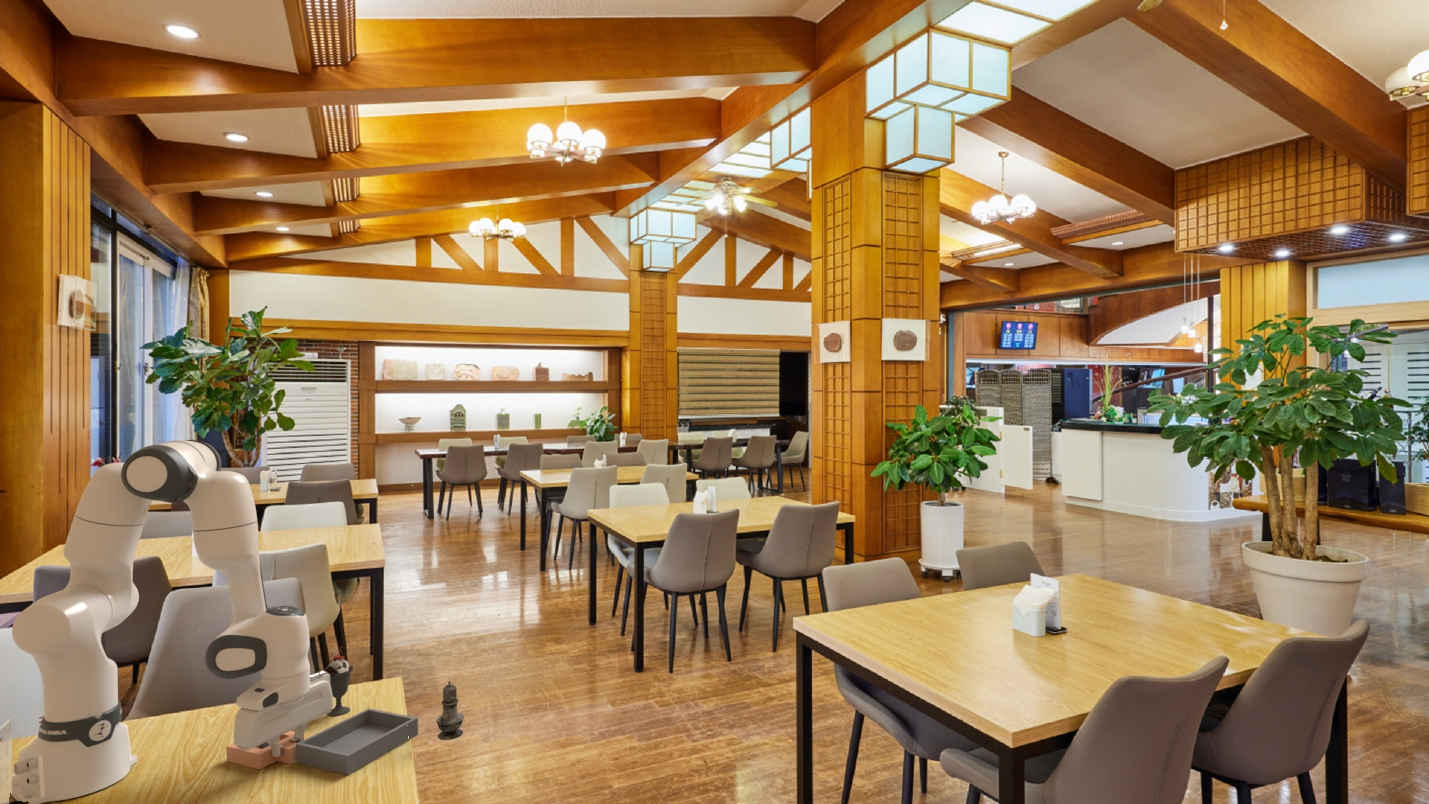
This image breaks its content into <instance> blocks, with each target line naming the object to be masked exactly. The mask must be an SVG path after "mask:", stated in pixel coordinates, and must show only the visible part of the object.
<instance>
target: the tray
mask: <svg viewBox="0 0 1429 804" xmlns="http://www.w3.org/2000/svg"><path fill="white" fill-rule="evenodd" d="M407 725H408V726H407ZM418 735H419V717H415V716H411V715H410V716H409V715H405V714H400V713H395V712H389V711H386V710H379V709H375V708H369V707H368V708H366V709H364V710H362V711H360V712H359V713H355V715H352V716H349V717H348V718H346V719H344V720H342V721H340V722H338V723H336V724H334V725H332V726H330V727H328V728H326V729H324V730H322V731H319V732H318V733H316V734H313V735H311V736H309V737H307V738H304V740H303V741H301V742H299V743H297V744H296V760H295V763H297V764H301V765H305V766H310V767H314V768H318V769H322V770H325V771H330V772H334V773H338V774H342V775H346V776H349V775H351V774H353V773H354V772H356V771H359V770H360V769H362V768H363V767H365V766H367V765H368V764H370V763H372V762H373V761H375V760H377V759H378V758H380V757H382V756H384V755H385V754H387V753H389V752H391V751H393V750H394V749H396V748H398V747H400V746H402V745H403V744H405V743H406V742H409V740H408V736H409V739H410V740H412V739H414V738H415V737H417V736H418Z"/></svg>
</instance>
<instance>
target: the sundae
mask: <svg viewBox="0 0 1429 804" xmlns="http://www.w3.org/2000/svg"><path fill="white" fill-rule="evenodd" d="M342 649H343V646H340V647H339V652H338V653H337V655H334V657H333V659H332V660H331V661H330V662H329V664H328V666H326V667H325V668H324V670H323V671H324V672H327V673H328V674H329V675H330V685H331V689H332V695H333V698H334V699H335V707H333V708H332V710H331V712H329V713H327V714H326V715H327V716H330V717H337V716H344V715H345V714H347V713H349V712H350V711H351V708H350V707H349V706H343V705H342V697H343V696H345V695H346V693H348V690H349V684H350V679H351V673H352V672H354V671H353V670H354V666H353V665H350V664H349V662H348V660H345V656H344V655H343V650H342ZM339 654H341V656H340V655H339Z"/></svg>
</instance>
